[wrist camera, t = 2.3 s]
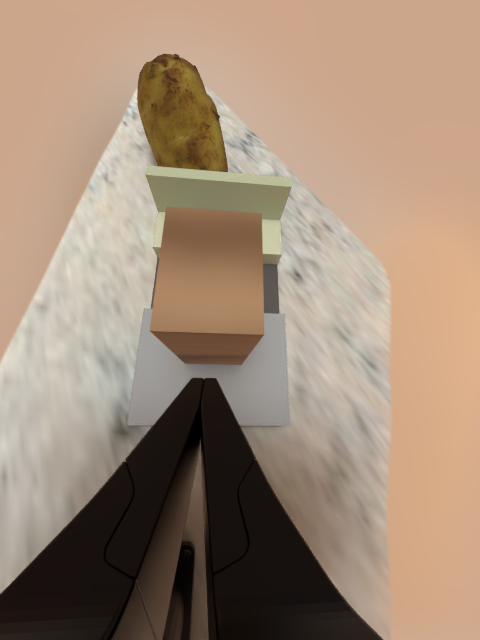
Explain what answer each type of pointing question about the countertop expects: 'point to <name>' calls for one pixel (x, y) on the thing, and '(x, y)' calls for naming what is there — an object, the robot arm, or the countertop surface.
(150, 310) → the trap board
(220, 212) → the walnut block
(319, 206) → the countertop surface
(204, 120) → the potato
